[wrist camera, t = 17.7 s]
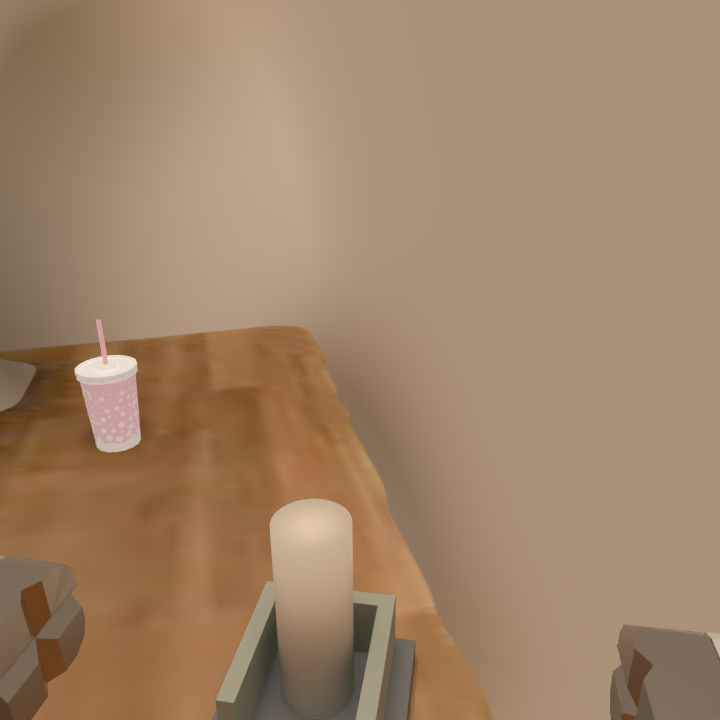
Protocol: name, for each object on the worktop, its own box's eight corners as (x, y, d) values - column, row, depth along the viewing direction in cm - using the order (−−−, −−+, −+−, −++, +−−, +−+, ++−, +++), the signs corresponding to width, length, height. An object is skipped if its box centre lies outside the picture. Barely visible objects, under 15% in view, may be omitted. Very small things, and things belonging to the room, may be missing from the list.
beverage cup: (94, 431, 72) (72, 313, 67) (150, 425, 73) (133, 308, 68) (84, 458, 66) (59, 332, 61) (145, 452, 68) (126, 327, 62)
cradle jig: (414, 657, 42) (416, 592, 40) (391, 874, 31) (392, 798, 29) (256, 637, 44) (250, 573, 42) (175, 834, 32) (161, 760, 30)
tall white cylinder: (359, 662, 40) (358, 502, 36) (347, 724, 36) (343, 553, 32) (292, 653, 41) (282, 495, 36) (272, 713, 37) (258, 544, 32)
